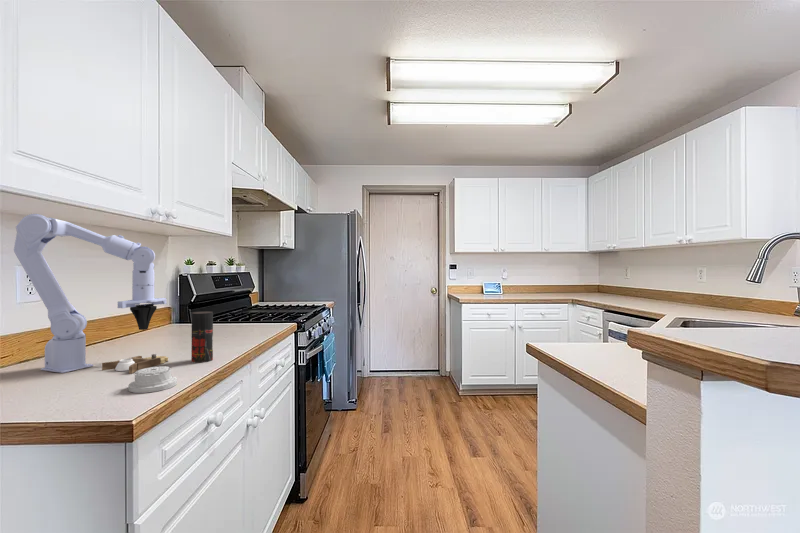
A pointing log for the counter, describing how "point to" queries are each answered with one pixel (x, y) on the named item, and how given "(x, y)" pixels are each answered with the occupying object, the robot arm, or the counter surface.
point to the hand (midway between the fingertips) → (143, 329)
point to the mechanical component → (152, 380)
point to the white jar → (124, 364)
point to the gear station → (138, 363)
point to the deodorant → (202, 337)
